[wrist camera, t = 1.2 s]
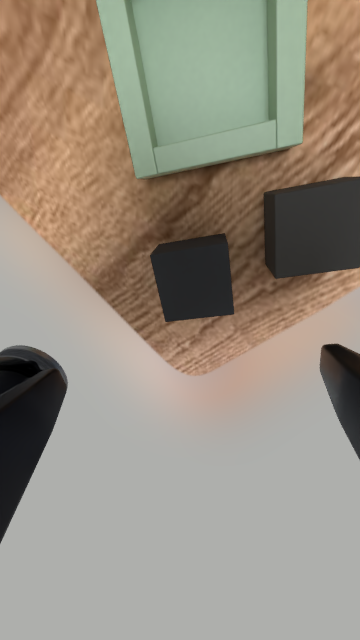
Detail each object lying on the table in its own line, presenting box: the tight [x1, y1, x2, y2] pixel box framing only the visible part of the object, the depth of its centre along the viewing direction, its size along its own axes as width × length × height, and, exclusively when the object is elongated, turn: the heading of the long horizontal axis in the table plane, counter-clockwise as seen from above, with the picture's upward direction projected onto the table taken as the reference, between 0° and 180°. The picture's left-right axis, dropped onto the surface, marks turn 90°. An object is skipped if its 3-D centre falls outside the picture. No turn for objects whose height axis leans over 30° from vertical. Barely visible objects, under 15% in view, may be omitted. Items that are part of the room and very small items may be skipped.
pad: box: [150, 234, 234, 322], centre depth 17 cm, size 4×4×3 cm
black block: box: [264, 177, 360, 279], centre depth 15 cm, size 4×4×3 cm
